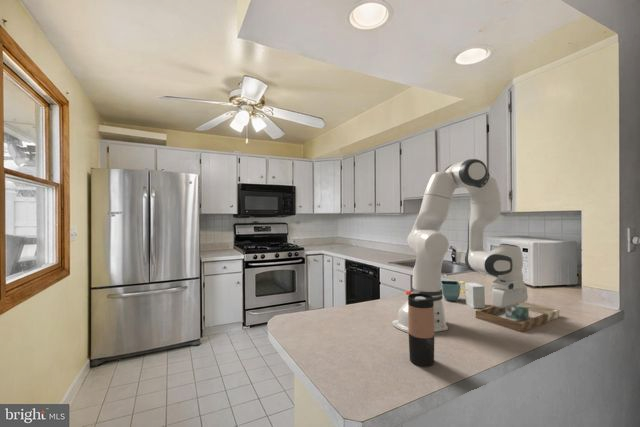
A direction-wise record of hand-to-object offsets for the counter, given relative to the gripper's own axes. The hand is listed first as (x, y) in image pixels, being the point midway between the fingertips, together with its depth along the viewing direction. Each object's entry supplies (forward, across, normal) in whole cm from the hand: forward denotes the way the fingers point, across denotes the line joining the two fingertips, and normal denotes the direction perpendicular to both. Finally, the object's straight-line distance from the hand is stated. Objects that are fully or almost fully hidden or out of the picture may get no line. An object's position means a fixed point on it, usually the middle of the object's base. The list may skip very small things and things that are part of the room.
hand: (511, 314), depth 123 cm
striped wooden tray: (+2, -6, 0) cm, 6 cm away
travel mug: (+2, +59, +5) cm, 60 cm away
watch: (+2, -22, -38) cm, 44 cm away
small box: (+2, -5, -19) cm, 20 cm away
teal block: (+2, -5, 0) cm, 5 cm away
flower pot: (+2, -4, -32) cm, 32 cm away
